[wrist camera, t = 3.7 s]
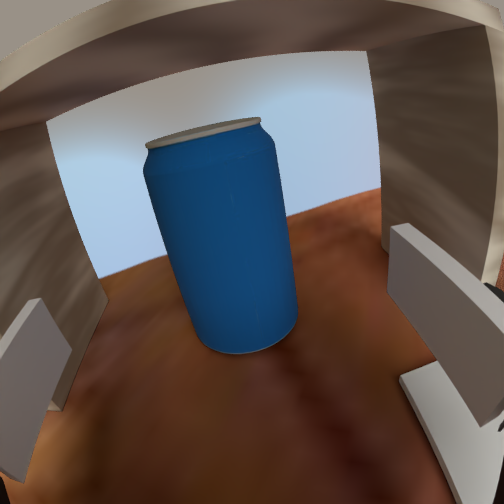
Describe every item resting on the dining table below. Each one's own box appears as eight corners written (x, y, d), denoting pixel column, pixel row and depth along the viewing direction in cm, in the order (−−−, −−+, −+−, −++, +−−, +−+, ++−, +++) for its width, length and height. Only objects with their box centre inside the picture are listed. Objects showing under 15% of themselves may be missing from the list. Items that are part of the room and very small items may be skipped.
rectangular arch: (395, 243, 24) (380, 37, 16) (480, 330, 14) (498, 8, 6) (95, 302, 24) (28, 115, 16) (45, 409, 14) (-88, 144, 6)
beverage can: (301, 292, 21) (276, 112, 15) (294, 363, 15) (257, 122, 10) (214, 295, 22) (171, 133, 17) (185, 360, 17) (109, 156, 11)
